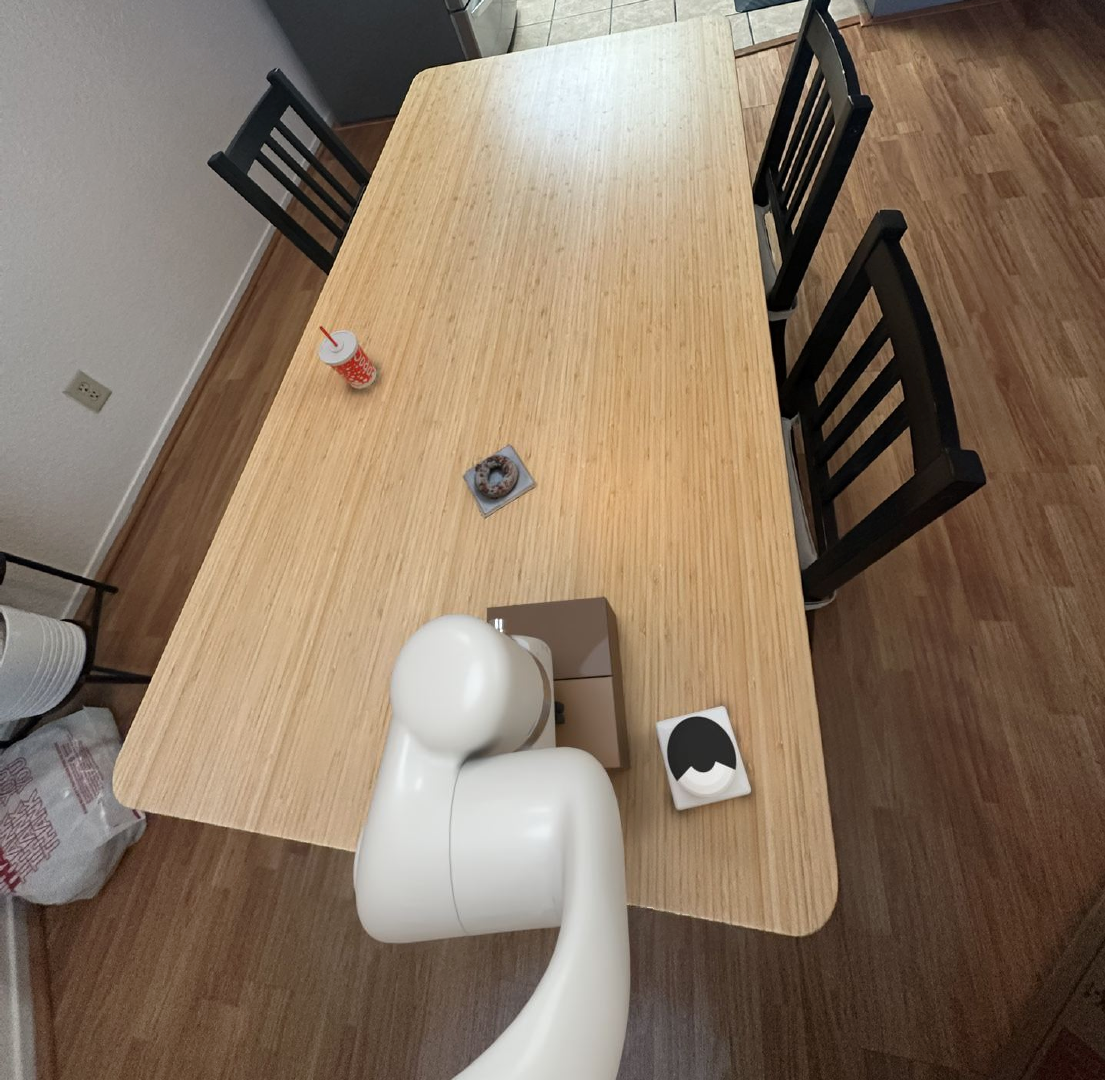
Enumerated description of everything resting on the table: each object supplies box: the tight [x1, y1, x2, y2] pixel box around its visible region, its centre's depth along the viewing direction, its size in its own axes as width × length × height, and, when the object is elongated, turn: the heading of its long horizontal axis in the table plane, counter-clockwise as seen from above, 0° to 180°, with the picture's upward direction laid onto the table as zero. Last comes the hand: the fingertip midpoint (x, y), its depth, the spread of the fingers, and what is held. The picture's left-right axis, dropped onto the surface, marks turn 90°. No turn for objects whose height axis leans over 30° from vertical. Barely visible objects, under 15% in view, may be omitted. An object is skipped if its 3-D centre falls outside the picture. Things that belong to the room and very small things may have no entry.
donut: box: [462, 444, 538, 519], centre depth 86 cm, size 8×8×2 cm
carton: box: [486, 596, 632, 771], centre depth 66 cm, size 15×13×10 cm
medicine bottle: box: [654, 705, 752, 811], centre depth 60 cm, size 7×7×12 cm
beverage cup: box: [318, 325, 377, 390], centre depth 96 cm, size 6×6×14 cm
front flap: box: [553, 677, 620, 768], centre depth 60 cm, size 7×13×1 cm, turn 92°
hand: (548, 715), depth 60 cm, fingers closed
